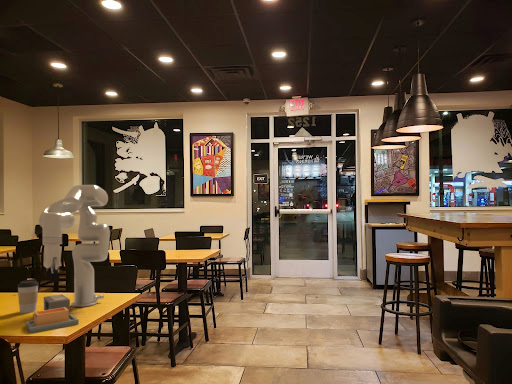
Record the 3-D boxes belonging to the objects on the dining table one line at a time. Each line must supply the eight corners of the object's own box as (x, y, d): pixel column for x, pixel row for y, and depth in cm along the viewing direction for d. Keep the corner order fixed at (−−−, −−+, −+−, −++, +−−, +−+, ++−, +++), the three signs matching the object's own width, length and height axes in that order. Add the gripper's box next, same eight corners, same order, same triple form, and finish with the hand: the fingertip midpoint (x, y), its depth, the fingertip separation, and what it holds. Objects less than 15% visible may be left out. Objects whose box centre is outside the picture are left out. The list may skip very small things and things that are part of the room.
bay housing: (69, 317, 179) (69, 298, 179) (50, 320, 174) (50, 301, 174) (61, 310, 191) (61, 293, 192) (43, 313, 186) (43, 296, 187)
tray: (71, 318, 177) (71, 313, 177) (78, 324, 166) (78, 319, 167) (25, 326, 166) (25, 321, 166) (30, 333, 155) (30, 328, 155)
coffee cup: (41, 310, 192) (41, 280, 193) (21, 314, 185) (21, 283, 186) (34, 308, 198) (34, 278, 199) (14, 311, 191) (14, 281, 192)
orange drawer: (65, 318, 173) (65, 307, 173) (68, 321, 167) (68, 309, 167) (32, 324, 165) (32, 312, 165) (35, 327, 159) (35, 315, 160)
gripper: (38, 240, 173) (39, 279, 173) (46, 242, 160) (47, 284, 159) (57, 239, 178) (57, 277, 177) (66, 241, 164) (66, 282, 164)
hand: (52, 280), depth 168 cm, fingers open, 9 cm apart
